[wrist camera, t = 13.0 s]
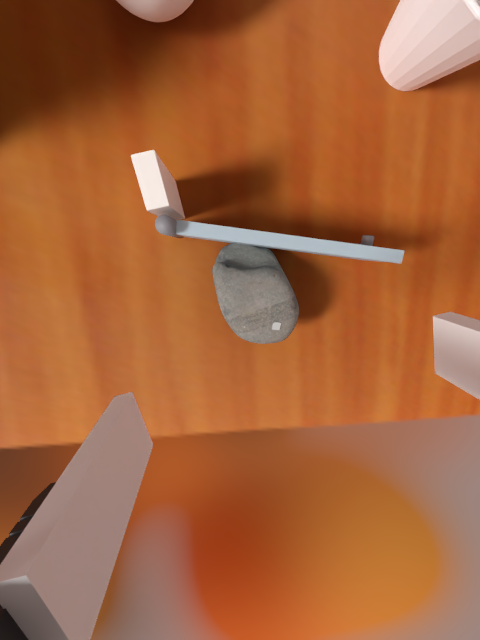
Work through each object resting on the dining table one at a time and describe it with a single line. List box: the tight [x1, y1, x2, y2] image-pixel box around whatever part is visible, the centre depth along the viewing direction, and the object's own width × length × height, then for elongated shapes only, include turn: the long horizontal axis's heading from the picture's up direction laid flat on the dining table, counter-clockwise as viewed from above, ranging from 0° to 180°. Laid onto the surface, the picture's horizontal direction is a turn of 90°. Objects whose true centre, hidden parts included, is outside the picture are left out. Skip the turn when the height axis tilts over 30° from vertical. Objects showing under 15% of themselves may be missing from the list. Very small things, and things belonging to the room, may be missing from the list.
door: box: [155, 215, 404, 263], centre depth 28 cm, size 23×3×8 cm, turn 83°
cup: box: [379, 0, 480, 91], centre depth 23 cm, size 12×12×12 cm
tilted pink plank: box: [131, 150, 185, 220], centre depth 26 cm, size 4×2×10 cm, turn 13°
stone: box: [212, 243, 299, 344], centre depth 32 cm, size 9×9×10 cm
